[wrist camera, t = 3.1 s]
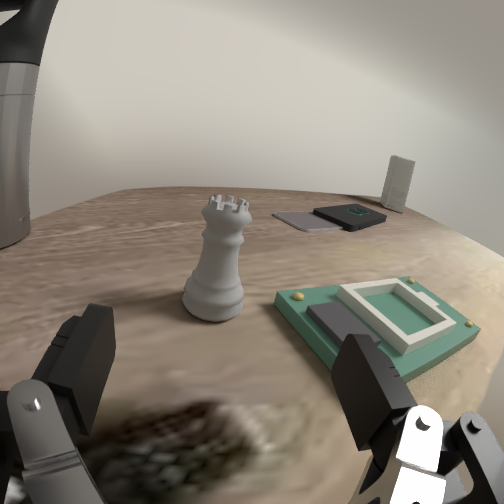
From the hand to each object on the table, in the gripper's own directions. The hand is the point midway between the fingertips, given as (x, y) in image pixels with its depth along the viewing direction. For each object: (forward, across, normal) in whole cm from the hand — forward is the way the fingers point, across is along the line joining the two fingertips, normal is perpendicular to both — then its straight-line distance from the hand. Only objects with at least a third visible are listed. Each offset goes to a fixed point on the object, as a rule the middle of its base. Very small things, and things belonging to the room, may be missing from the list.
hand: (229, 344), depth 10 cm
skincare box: (+67, -48, +6) cm, 82 cm away
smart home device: (+45, -26, +7) cm, 52 cm away
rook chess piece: (+11, 0, +6) cm, 13 cm away
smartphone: (+38, -17, +7) cm, 42 cm away
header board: (+10, -15, +6) cm, 19 cm away
